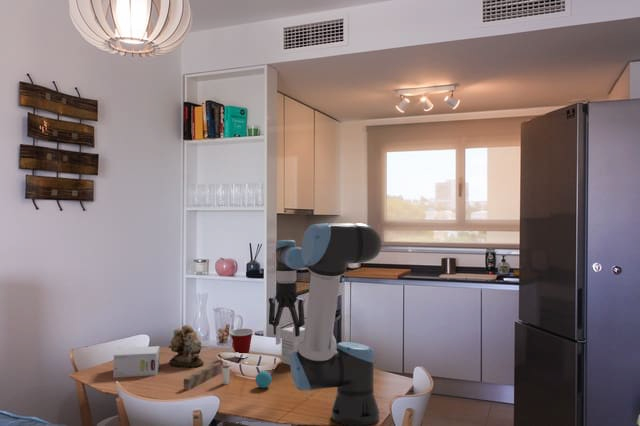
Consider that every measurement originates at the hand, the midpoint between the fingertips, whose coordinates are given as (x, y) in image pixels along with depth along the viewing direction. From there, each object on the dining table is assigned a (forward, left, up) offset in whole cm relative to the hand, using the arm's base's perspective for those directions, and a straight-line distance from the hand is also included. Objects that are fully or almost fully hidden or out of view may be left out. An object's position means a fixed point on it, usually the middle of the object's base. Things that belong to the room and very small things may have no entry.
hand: (286, 344), depth 201 cm
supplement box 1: (+2, +69, -17) cm, 71 cm away
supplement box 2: (+36, +11, -17) cm, 41 cm away
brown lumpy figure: (+19, +56, -17) cm, 62 cm away
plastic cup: (+37, +38, -17) cm, 56 cm away
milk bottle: (+27, -7, -17) cm, 33 cm away
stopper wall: (0, +35, -17) cm, 39 cm away
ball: (0, +9, -14) cm, 17 cm away
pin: (0, +25, -17) cm, 31 cm away
